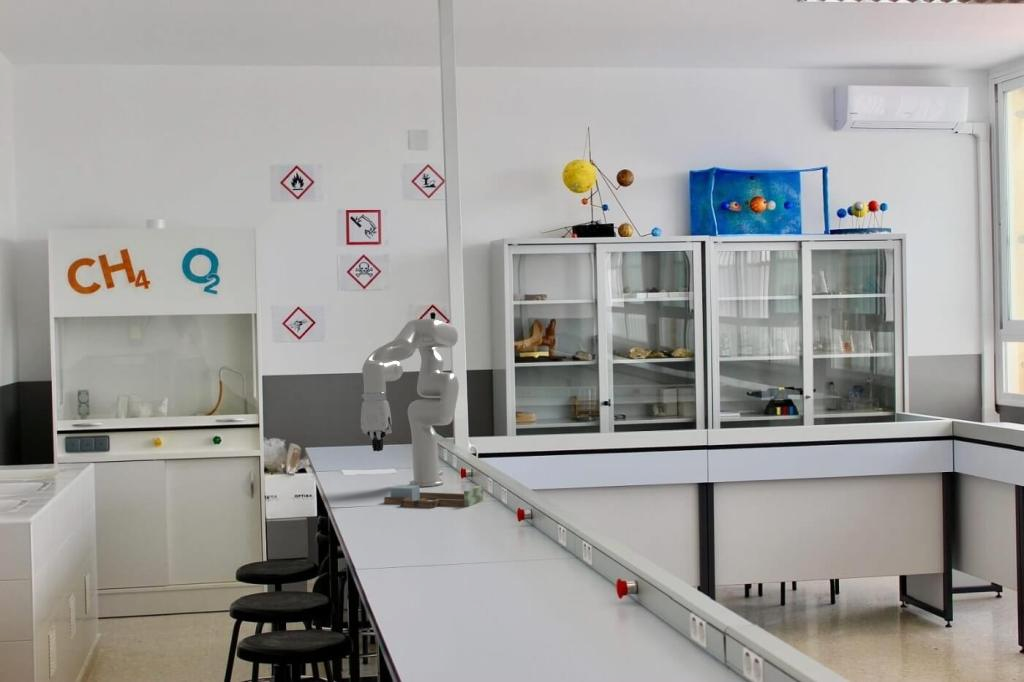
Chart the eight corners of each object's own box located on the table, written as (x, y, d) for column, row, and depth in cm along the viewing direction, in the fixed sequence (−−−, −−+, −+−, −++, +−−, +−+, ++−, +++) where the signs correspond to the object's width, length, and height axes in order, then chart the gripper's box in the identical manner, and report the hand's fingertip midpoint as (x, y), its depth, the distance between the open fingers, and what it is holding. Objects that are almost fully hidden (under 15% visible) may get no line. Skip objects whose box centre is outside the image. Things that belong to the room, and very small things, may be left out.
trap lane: (401, 497, 384) (400, 483, 384) (483, 500, 371) (482, 485, 371) (377, 505, 370) (377, 490, 370) (462, 509, 357) (461, 493, 356)
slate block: (398, 499, 381) (398, 485, 381) (420, 500, 378) (419, 485, 378) (391, 502, 375) (390, 488, 375) (412, 503, 373) (411, 488, 372)
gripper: (350, 398, 379) (353, 451, 380) (388, 398, 373) (391, 452, 374) (362, 396, 386) (365, 448, 387) (400, 396, 380) (402, 449, 381)
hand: (378, 450), depth 380 cm, fingers closed
